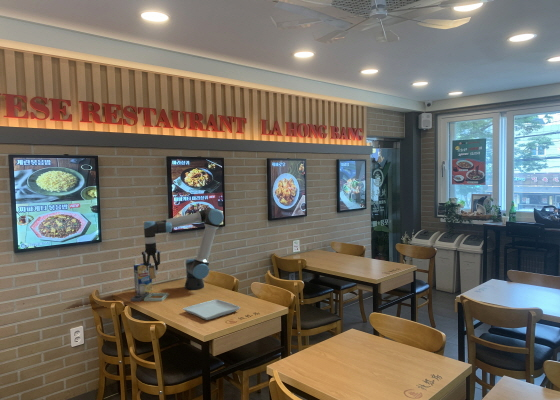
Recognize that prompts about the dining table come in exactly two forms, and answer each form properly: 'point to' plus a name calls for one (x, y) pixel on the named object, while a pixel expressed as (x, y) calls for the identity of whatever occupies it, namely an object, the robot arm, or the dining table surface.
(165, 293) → the parts tray
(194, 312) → the square plate
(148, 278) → the beverage box
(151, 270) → the fuse
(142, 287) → the fuse
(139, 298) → the fuse block
